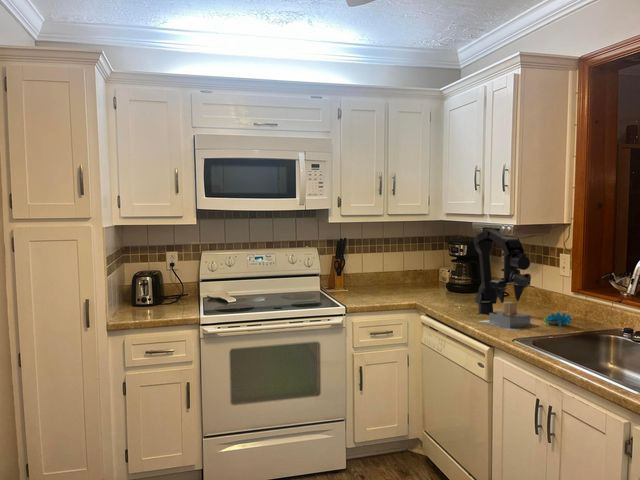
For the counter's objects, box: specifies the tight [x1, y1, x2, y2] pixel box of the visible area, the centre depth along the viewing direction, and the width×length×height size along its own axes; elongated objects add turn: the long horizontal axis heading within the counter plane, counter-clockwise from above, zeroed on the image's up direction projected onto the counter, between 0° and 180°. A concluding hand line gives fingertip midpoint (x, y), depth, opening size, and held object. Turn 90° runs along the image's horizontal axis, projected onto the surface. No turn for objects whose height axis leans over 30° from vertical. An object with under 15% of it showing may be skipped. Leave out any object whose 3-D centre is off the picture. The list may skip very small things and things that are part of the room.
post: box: [502, 301, 518, 316], centre depth 213 cm, size 4×4×10 cm
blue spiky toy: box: [543, 311, 573, 328], centre depth 209 cm, size 11×6×10 cm
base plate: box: [478, 319, 540, 332], centre depth 213 cm, size 20×18×1 cm
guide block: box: [488, 310, 531, 329], centre depth 213 cm, size 12×12×5 cm
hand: (510, 301), depth 213 cm, fingers open, 9 cm apart
